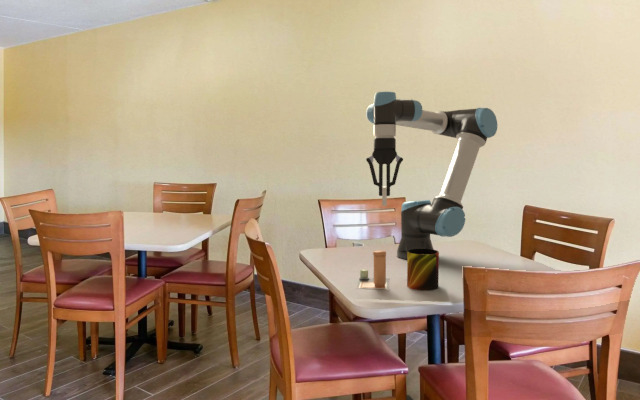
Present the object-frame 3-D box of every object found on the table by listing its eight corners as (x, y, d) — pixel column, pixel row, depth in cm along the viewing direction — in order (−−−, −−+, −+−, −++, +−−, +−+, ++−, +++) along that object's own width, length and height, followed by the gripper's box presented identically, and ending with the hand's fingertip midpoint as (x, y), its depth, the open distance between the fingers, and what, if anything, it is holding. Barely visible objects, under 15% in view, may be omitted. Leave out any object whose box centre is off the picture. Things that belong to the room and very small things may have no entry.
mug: (408, 280, 164) (409, 245, 162) (444, 288, 154) (445, 251, 152) (390, 286, 157) (390, 249, 156) (426, 295, 147) (426, 256, 146)
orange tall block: (385, 284, 156) (385, 250, 155) (386, 287, 152) (386, 253, 151) (373, 284, 156) (372, 250, 155) (373, 287, 152) (373, 253, 151)
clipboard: (389, 280, 164) (389, 277, 163) (388, 292, 150) (388, 289, 150) (359, 279, 165) (359, 276, 165) (356, 291, 152) (356, 288, 152)
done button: (368, 276, 163) (368, 269, 163) (367, 278, 161) (367, 271, 161) (360, 276, 164) (360, 269, 164) (360, 278, 161) (360, 271, 161)
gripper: (403, 137, 171) (403, 204, 173) (366, 138, 173) (366, 204, 175) (403, 136, 164) (403, 206, 166) (365, 137, 166) (365, 206, 168)
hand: (384, 205), depth 171 cm, fingers closed
